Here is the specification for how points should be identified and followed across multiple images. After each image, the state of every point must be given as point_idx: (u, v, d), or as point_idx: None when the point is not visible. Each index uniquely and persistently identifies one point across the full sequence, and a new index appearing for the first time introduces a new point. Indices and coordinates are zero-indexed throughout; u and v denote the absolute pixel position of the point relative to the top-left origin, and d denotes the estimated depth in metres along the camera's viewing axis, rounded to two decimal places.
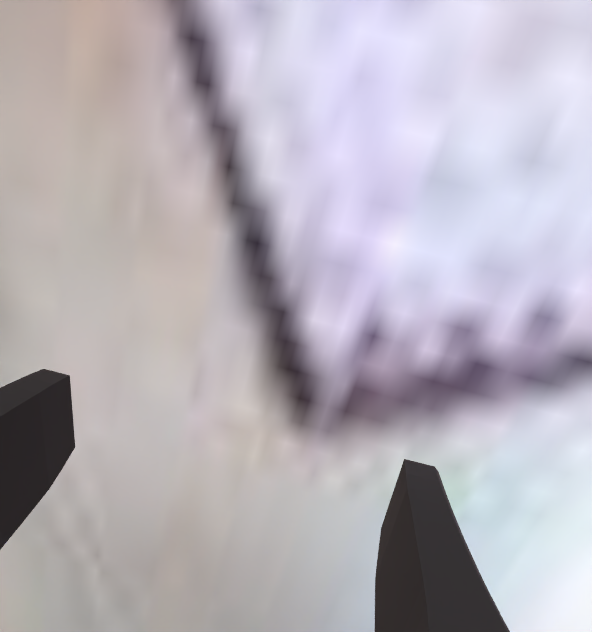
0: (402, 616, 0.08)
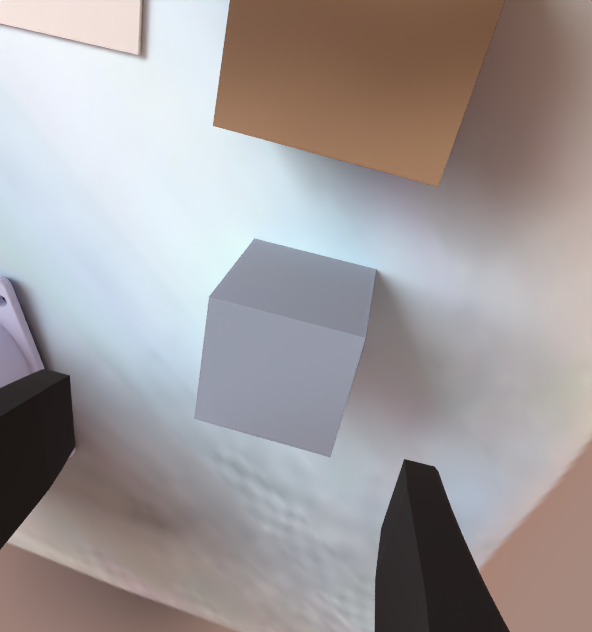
0: (403, 616, 0.08)
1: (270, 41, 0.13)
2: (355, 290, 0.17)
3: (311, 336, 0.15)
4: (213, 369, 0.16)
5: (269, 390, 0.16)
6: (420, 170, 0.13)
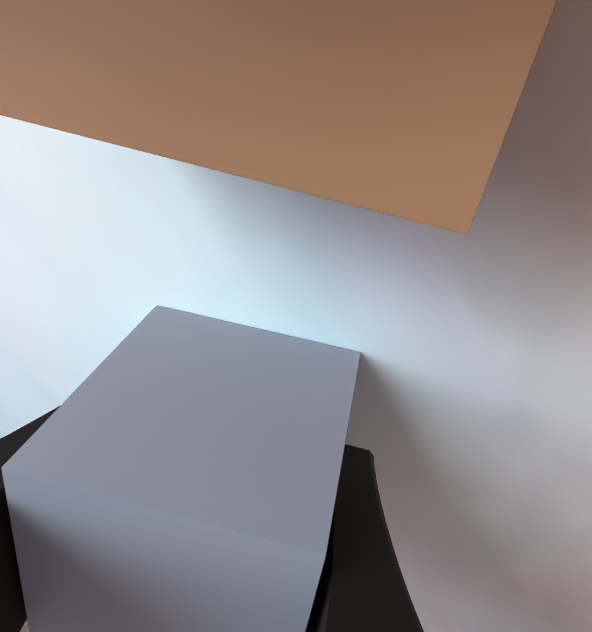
0: (321, 593, 0.08)
1: None
2: (317, 411, 0.09)
3: (212, 546, 0.07)
4: (44, 584, 0.08)
5: (151, 625, 0.08)
6: (425, 197, 0.06)
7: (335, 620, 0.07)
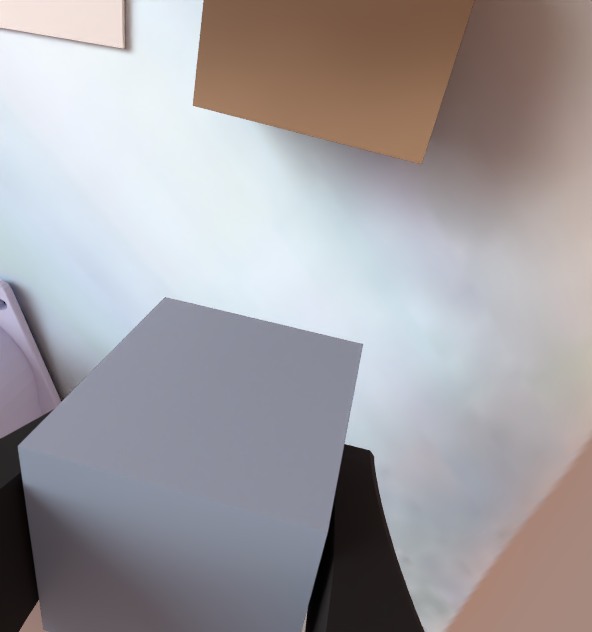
0: (321, 593, 0.08)
1: (248, 17, 0.12)
2: (321, 398, 0.10)
3: (219, 523, 0.07)
4: (55, 562, 0.09)
5: (158, 601, 0.09)
6: (403, 147, 0.13)
7: (336, 620, 0.07)
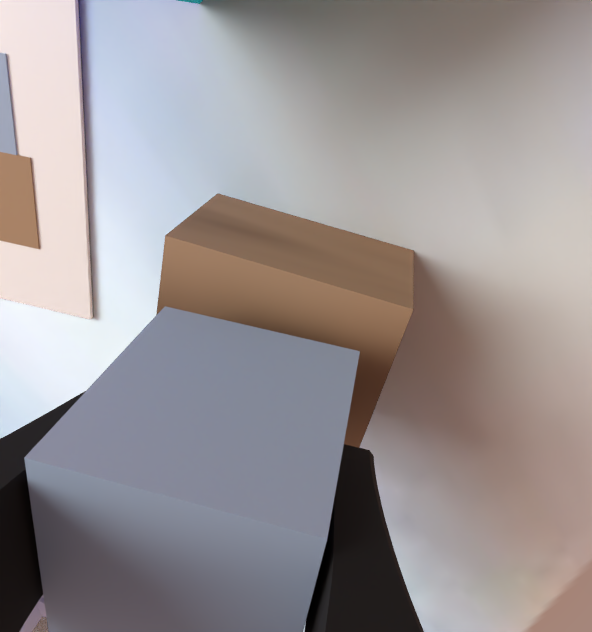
0: (320, 593, 0.08)
1: None
2: (319, 406, 0.10)
3: (222, 530, 0.08)
4: (61, 569, 0.09)
5: (161, 607, 0.09)
6: None
7: (335, 620, 0.07)
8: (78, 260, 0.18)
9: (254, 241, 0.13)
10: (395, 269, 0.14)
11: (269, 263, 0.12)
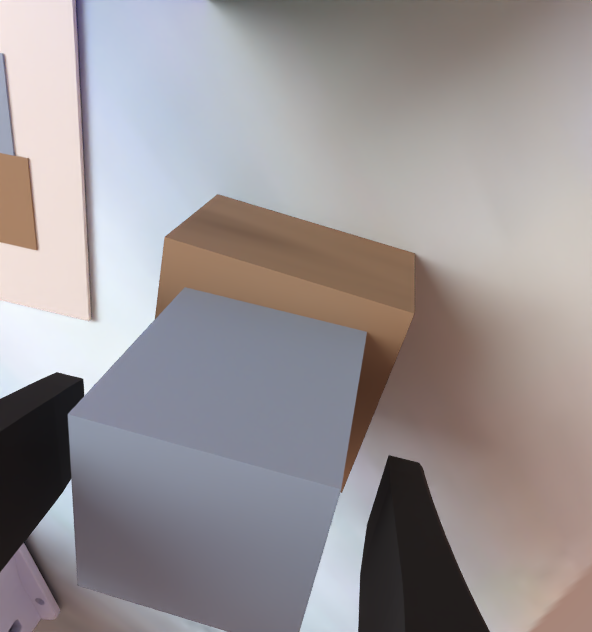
0: (382, 610, 0.08)
1: None
2: (330, 378, 0.11)
3: (245, 482, 0.08)
4: (94, 521, 0.10)
5: (185, 556, 0.10)
6: None
7: None
8: (76, 261, 0.17)
9: (254, 243, 0.13)
10: (396, 272, 0.14)
11: (270, 265, 0.12)
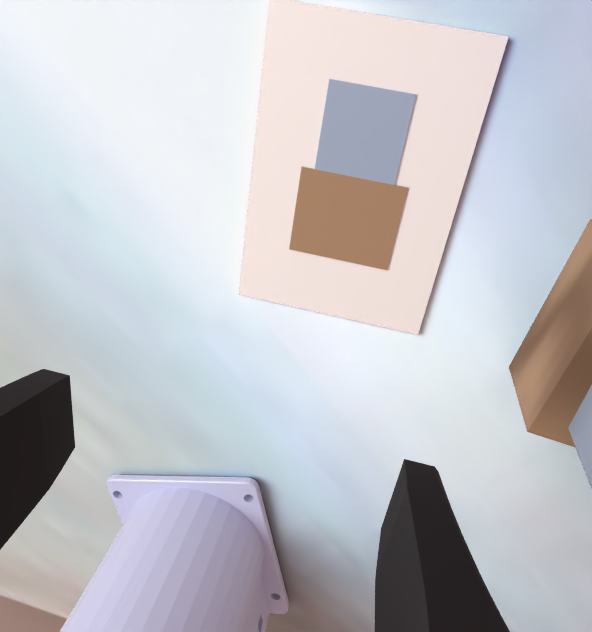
0: (402, 616, 0.08)
1: None
2: None
3: None
4: None
5: None
6: None
7: None
8: (424, 280, 0.19)
9: None
10: None
11: None
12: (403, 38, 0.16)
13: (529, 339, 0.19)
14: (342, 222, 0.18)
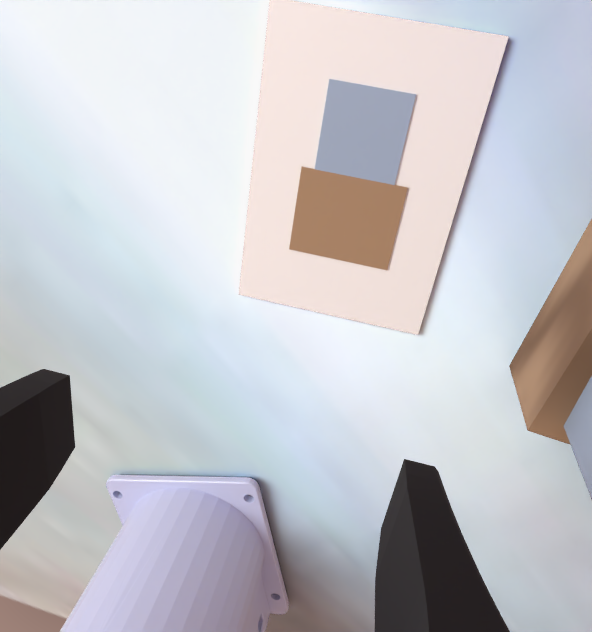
0: (402, 616, 0.08)
1: None
2: None
3: None
4: None
5: None
6: None
7: None
8: (424, 280, 0.19)
9: None
10: None
11: None
12: (403, 38, 0.16)
13: (530, 337, 0.19)
14: (342, 222, 0.18)
